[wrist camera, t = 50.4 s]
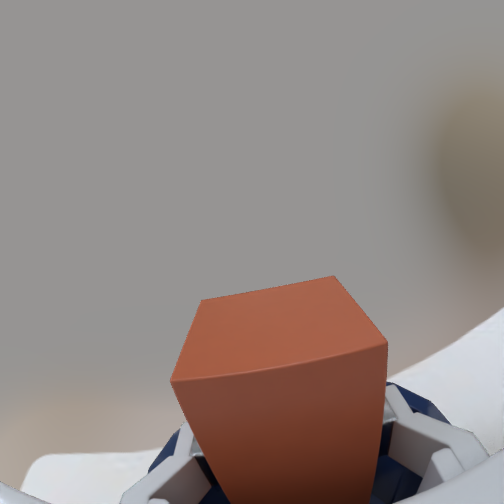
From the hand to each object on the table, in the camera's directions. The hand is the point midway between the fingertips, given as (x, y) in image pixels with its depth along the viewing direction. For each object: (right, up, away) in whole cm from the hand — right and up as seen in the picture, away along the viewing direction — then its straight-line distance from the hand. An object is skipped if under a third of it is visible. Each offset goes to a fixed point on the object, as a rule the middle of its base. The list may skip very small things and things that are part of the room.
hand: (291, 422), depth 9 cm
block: (+1, -6, 0) cm, 6 cm away
